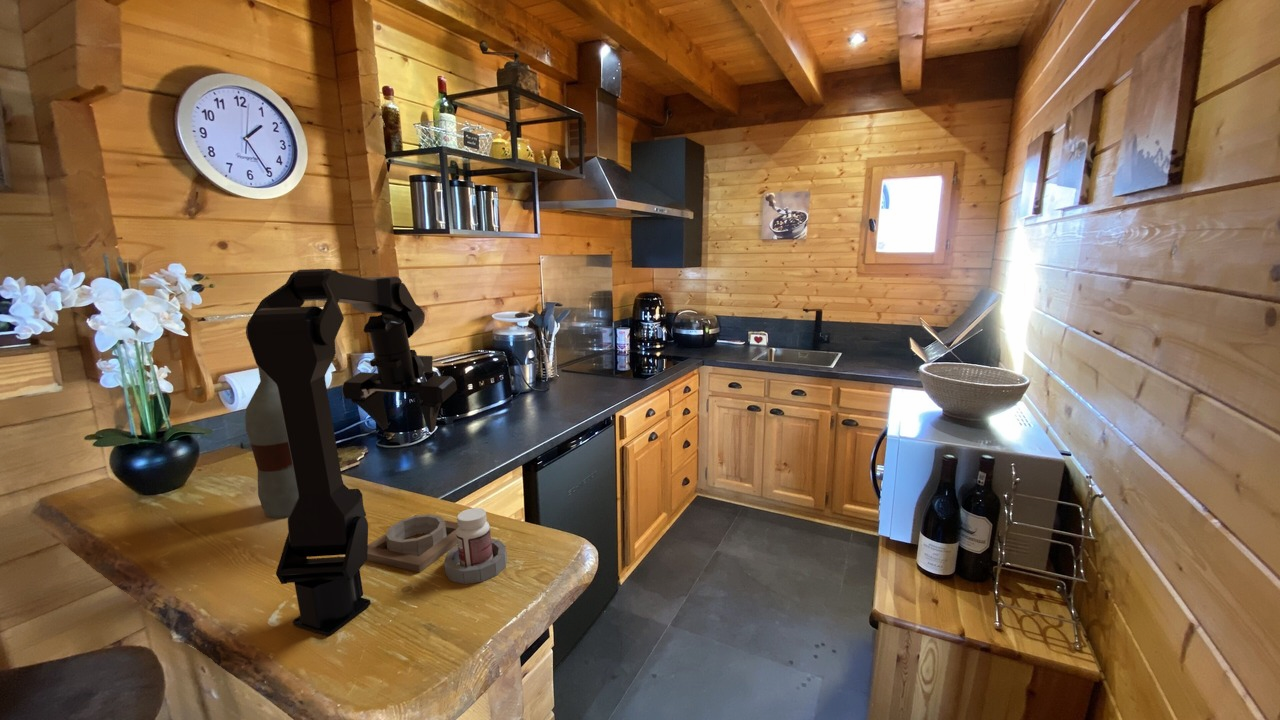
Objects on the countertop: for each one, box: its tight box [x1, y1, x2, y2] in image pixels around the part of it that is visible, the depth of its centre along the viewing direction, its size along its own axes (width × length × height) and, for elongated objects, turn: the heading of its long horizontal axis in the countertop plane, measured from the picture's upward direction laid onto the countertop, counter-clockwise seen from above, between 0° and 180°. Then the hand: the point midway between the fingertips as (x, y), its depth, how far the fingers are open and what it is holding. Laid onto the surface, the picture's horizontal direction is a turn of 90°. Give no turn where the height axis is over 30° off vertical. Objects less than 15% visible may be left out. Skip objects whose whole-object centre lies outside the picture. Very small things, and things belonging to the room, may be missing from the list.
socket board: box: [367, 513, 458, 573], centre depth 84 cm, size 12×12×3 cm
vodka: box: [244, 365, 298, 519], centre depth 96 cm, size 9×9×30 cm
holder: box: [443, 538, 508, 585], centre depth 78 cm, size 8×8×2 cm
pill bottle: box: [456, 507, 494, 567], centre depth 77 cm, size 5×5×8 cm
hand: (408, 429), depth 96 cm, fingers open, 9 cm apart
